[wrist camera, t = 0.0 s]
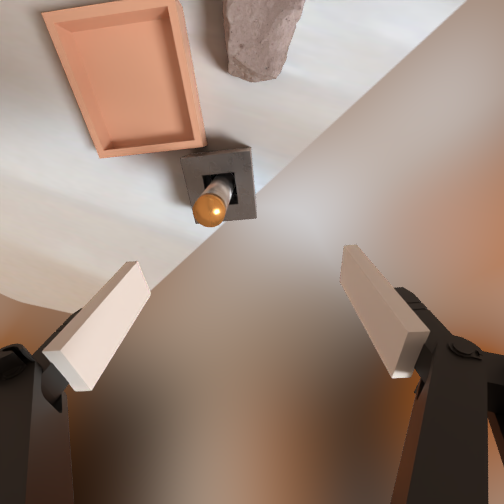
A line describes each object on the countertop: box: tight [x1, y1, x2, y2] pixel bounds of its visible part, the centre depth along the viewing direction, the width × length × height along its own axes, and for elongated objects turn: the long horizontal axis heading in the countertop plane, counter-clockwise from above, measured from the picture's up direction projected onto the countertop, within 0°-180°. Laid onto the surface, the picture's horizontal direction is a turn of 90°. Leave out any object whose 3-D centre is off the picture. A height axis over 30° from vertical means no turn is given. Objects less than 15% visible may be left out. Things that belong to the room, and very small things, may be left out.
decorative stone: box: [223, 0, 305, 82], centre depth 27 cm, size 13×10×6 cm
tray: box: [41, 0, 207, 158], centre depth 31 cm, size 16×16×4 cm
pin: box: [193, 173, 236, 227], centre depth 32 cm, size 4×4×16 cm
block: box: [180, 147, 257, 224], centre depth 36 cm, size 10×10×6 cm
